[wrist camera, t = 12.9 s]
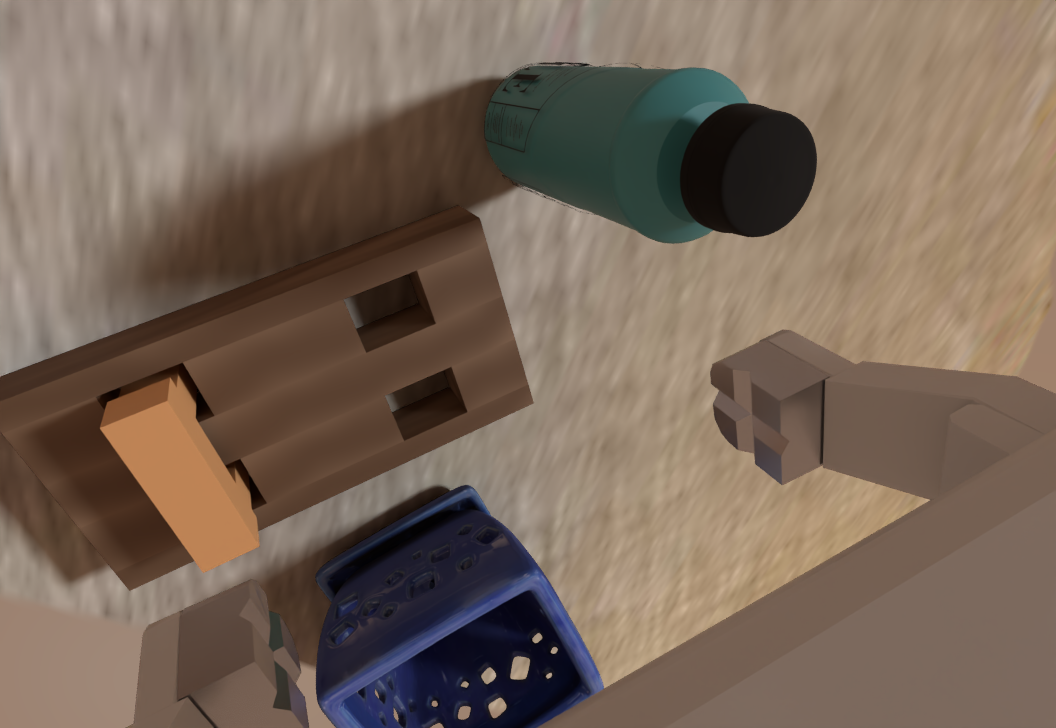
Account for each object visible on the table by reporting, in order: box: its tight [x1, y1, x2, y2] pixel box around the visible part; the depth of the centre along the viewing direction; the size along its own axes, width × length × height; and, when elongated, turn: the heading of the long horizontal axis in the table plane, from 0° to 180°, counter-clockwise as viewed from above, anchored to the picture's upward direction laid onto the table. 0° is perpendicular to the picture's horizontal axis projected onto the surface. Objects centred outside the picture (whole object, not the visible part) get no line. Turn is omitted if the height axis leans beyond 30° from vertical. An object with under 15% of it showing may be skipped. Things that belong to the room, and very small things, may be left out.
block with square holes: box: [0, 205, 534, 591], centre depth 36 cm, size 12×24×4 cm, turn 105°
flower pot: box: [315, 485, 604, 728], centre depth 42 cm, size 13×13×12 cm
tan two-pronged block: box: [100, 363, 260, 573], centre depth 34 cm, size 9×3×7 cm, turn 15°
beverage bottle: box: [484, 62, 817, 244], centre depth 29 cm, size 6×7×20 cm
